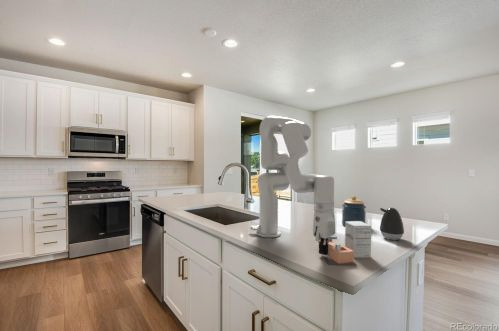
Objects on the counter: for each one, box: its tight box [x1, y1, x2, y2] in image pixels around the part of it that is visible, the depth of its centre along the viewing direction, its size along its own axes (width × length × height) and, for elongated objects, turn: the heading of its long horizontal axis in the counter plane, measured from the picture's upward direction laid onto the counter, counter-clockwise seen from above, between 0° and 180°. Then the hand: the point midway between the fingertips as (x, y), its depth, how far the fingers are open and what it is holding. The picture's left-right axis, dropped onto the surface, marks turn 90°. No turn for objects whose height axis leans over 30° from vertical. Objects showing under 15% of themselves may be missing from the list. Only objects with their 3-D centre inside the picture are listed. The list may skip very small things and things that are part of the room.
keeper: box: [329, 234, 338, 242], centre depth 105 cm, size 6×6×6 cm
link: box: [328, 240, 355, 263], centre depth 97 cm, size 14×6×4 cm, turn 13°
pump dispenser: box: [379, 207, 405, 241], centre depth 120 cm, size 10×10×15 cm
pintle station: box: [320, 243, 357, 266], centre depth 93 cm, size 10×10×6 cm
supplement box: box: [344, 221, 372, 259], centre depth 99 cm, size 7×7×13 cm
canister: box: [341, 195, 367, 227], centre depth 144 cm, size 13×13×18 cm
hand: (323, 253), depth 96 cm, fingers closed
